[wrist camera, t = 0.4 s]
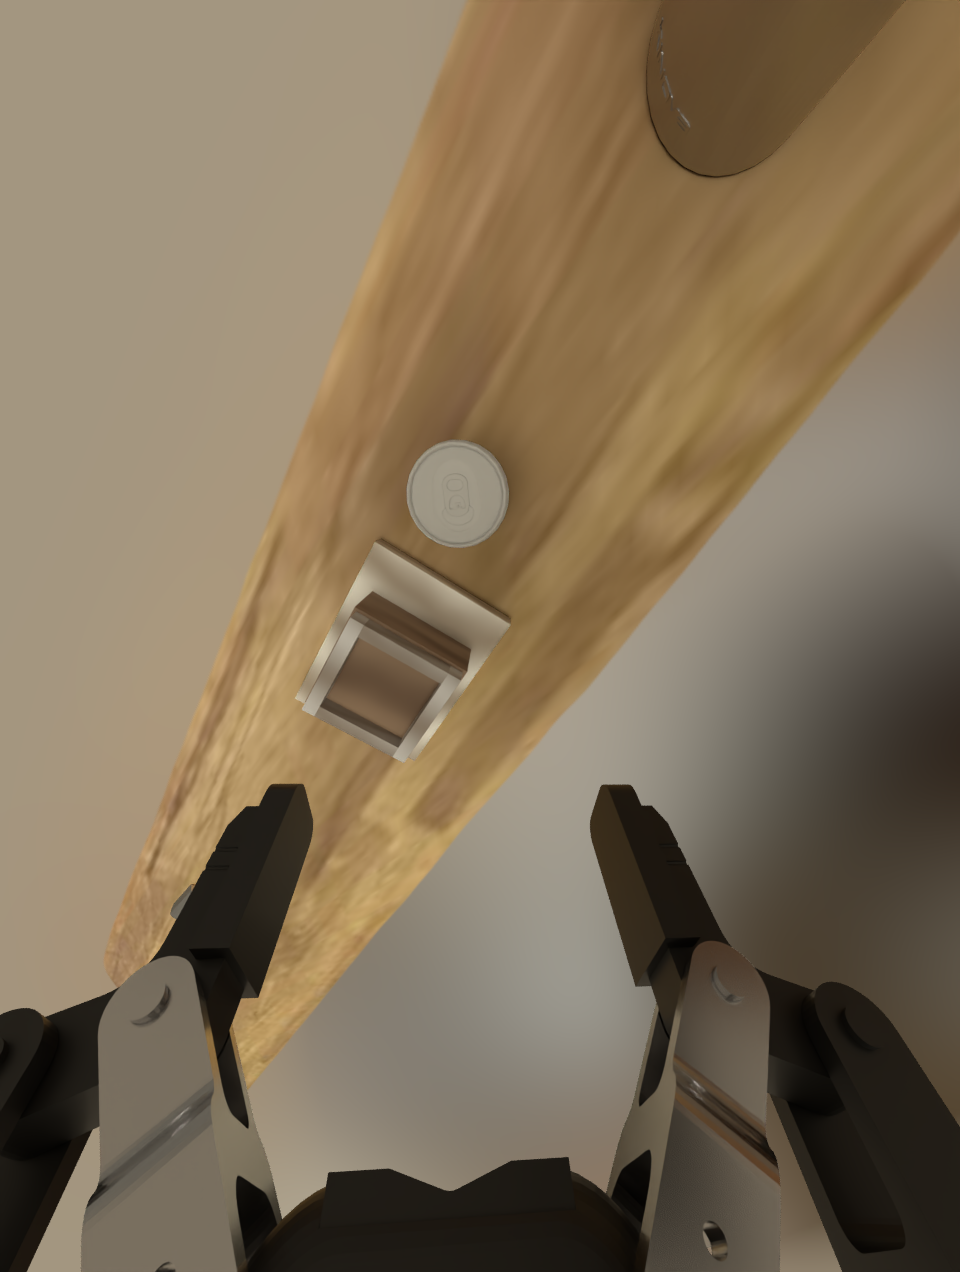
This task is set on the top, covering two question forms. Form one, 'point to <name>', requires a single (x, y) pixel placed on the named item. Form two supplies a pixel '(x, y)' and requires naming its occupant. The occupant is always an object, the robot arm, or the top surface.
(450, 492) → the beverage can
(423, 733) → the pedestal base
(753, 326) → the top surface
